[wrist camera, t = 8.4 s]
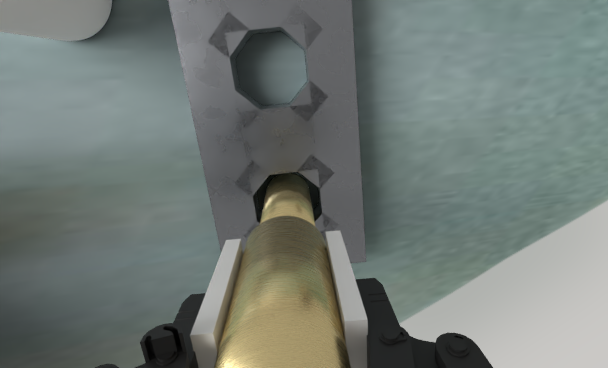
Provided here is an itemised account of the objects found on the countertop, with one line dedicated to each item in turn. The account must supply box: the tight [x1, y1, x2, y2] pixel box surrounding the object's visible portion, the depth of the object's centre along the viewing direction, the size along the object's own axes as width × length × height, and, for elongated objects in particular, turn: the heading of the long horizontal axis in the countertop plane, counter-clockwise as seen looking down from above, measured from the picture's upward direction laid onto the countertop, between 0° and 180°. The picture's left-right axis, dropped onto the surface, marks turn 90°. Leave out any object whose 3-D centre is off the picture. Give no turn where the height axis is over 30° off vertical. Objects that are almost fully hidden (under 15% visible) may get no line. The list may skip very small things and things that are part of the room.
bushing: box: [214, 216, 351, 368], centre depth 13 cm, size 4×4×10 cm
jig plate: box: [168, 0, 366, 263], centre depth 31 cm, size 14×26×3 cm, turn 6°
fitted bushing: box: [260, 173, 315, 226], centre depth 30 cm, size 4×4×10 cm
